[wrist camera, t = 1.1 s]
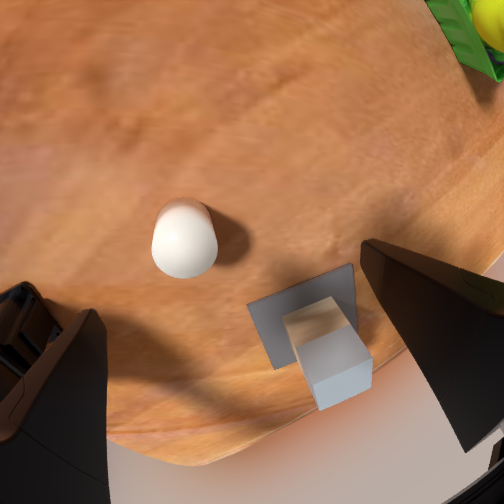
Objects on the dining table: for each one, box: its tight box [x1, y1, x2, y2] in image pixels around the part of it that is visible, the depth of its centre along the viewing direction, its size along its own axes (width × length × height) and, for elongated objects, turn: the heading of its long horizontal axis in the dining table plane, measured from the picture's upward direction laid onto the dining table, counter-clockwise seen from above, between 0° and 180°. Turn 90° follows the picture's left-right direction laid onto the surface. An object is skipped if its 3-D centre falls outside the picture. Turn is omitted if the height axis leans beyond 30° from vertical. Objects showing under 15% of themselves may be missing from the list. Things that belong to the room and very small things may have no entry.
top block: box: [296, 324, 373, 411], centre depth 23 cm, size 5×5×4 cm
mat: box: [247, 263, 358, 370], centre depth 29 cm, size 10×10×1 cm
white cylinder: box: [152, 197, 218, 279], centre depth 19 cm, size 4×4×4 cm
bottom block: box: [281, 296, 350, 375], centre depth 27 cm, size 5×5×4 cm
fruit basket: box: [426, 0, 504, 82], centre depth 11 cm, size 11×9×11 cm
